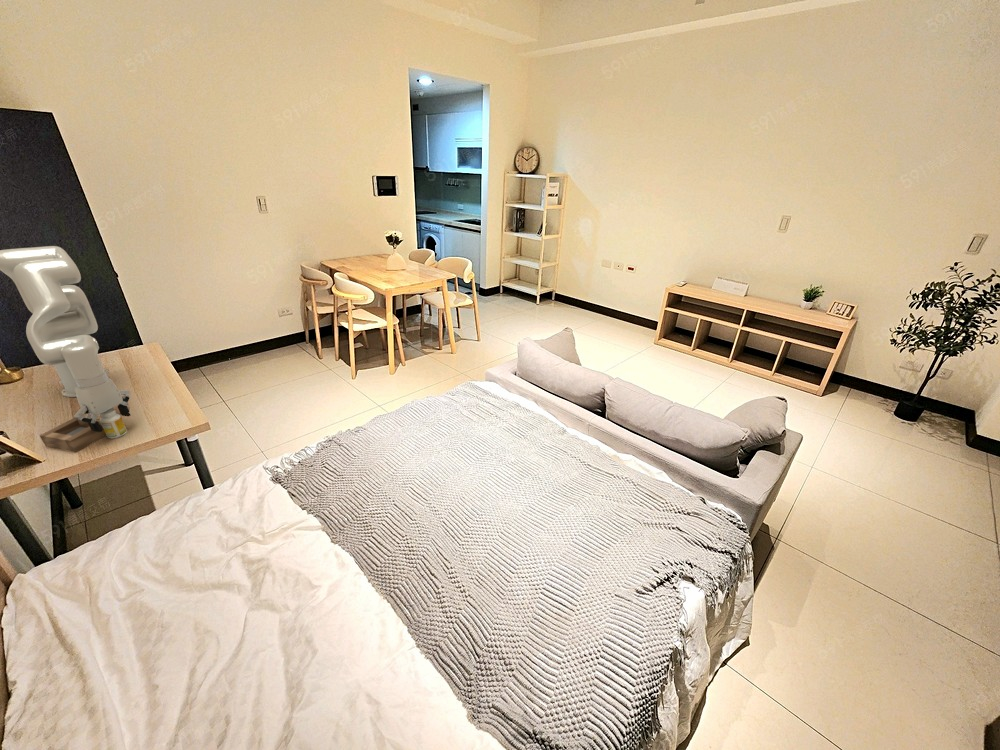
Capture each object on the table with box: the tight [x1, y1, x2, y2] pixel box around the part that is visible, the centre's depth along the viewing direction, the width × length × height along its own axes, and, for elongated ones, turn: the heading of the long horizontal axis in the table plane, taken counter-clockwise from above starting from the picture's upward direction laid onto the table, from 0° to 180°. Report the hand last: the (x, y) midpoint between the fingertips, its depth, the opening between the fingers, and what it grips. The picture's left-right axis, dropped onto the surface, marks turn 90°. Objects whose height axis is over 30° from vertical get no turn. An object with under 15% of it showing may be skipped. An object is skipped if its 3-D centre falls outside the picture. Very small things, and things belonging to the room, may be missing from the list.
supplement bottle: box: [99, 408, 128, 439], centre depth 142 cm, size 5×5×10 cm
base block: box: [38, 415, 107, 453], centre depth 140 cm, size 12×12×5 cm
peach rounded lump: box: [113, 395, 130, 416], centre depth 155 cm, size 6×6×5 cm
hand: (112, 423), depth 141 cm, fingers open, 9 cm apart
